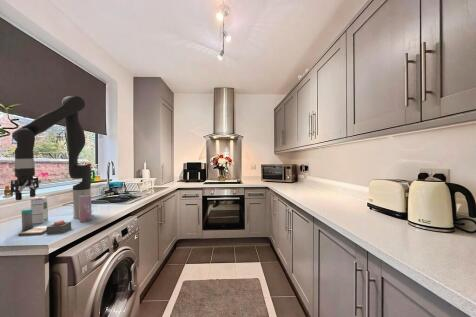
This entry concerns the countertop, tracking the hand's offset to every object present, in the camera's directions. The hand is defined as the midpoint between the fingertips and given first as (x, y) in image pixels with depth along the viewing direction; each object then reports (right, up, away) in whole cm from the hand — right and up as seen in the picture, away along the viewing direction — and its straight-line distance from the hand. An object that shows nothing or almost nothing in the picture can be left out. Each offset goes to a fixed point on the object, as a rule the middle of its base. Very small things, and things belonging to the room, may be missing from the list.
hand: (26, 198), depth 115 cm
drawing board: (+10, -16, -3) cm, 19 cm away
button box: (+20, -16, -4) cm, 26 cm away
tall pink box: (+21, -16, +15) cm, 30 cm away
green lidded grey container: (+1, -16, 0) cm, 16 cm away
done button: (+20, -13, -4) cm, 24 cm away
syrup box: (-6, -17, +15) cm, 23 cm away
